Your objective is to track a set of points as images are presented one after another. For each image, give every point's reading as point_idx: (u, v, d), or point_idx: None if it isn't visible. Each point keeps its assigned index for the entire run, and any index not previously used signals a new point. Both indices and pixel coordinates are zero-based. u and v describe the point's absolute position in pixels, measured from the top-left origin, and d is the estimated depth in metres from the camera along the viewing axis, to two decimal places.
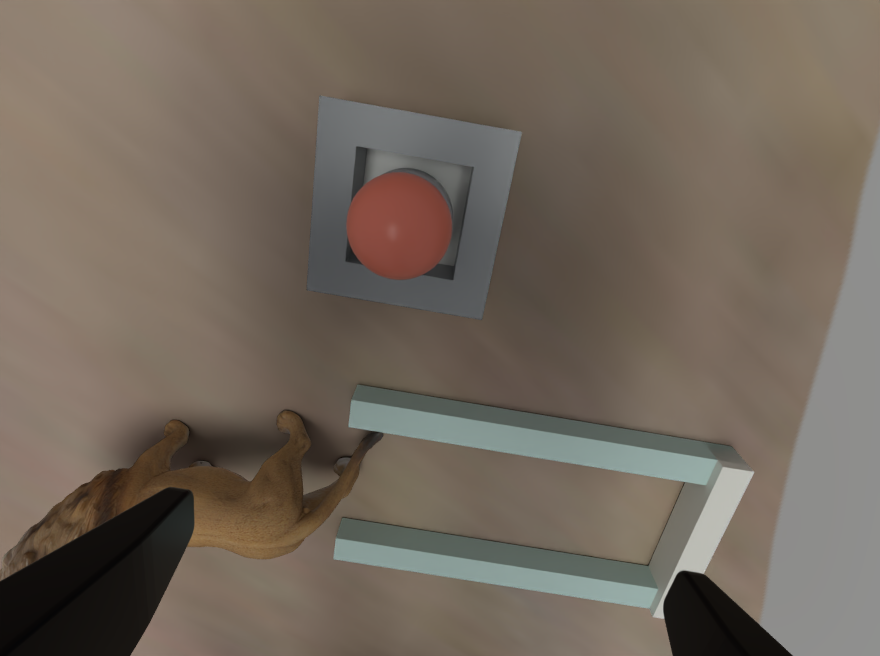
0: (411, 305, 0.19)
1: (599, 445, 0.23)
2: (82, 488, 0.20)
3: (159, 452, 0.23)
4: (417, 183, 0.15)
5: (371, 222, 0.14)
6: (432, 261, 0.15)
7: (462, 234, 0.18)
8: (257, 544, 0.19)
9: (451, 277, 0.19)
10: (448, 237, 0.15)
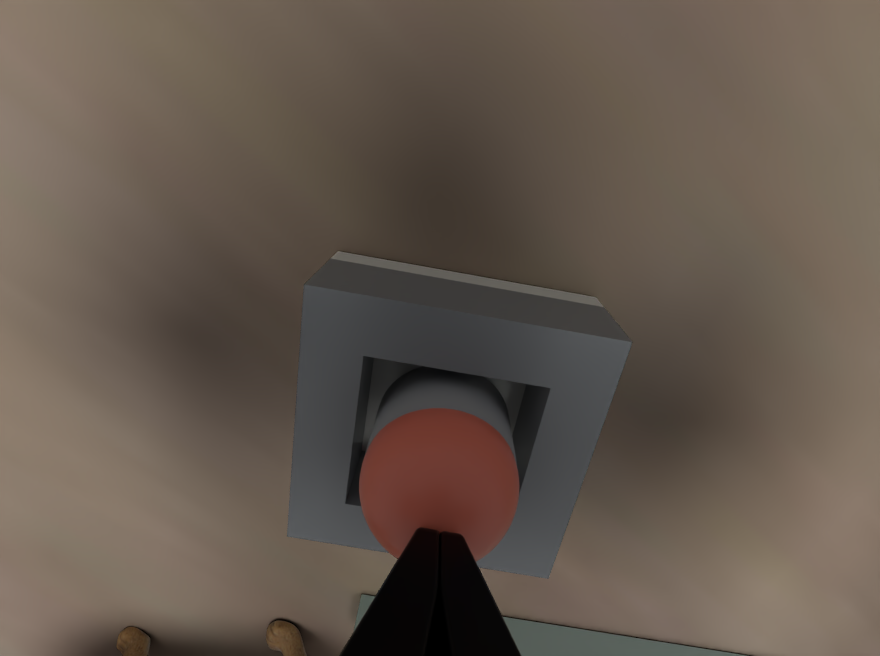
0: None
1: None
2: None
3: None
4: (472, 446, 0.09)
5: (400, 518, 0.09)
6: (491, 550, 0.10)
7: (525, 472, 0.12)
8: None
9: None
10: (515, 510, 0.10)
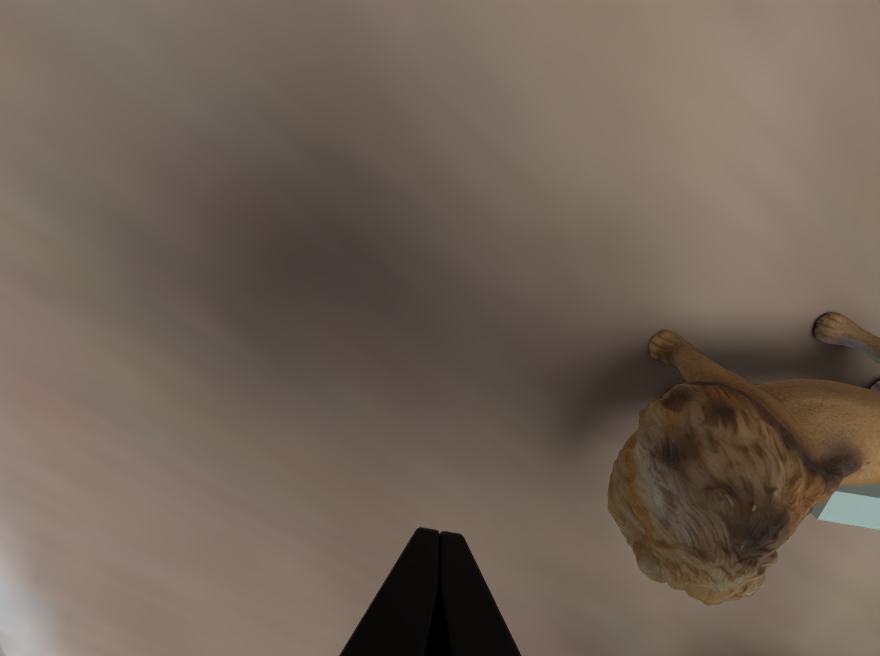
0: None
1: None
2: (696, 402, 0.14)
3: (715, 363, 0.16)
4: None
5: None
6: None
7: None
8: None
9: None
10: None
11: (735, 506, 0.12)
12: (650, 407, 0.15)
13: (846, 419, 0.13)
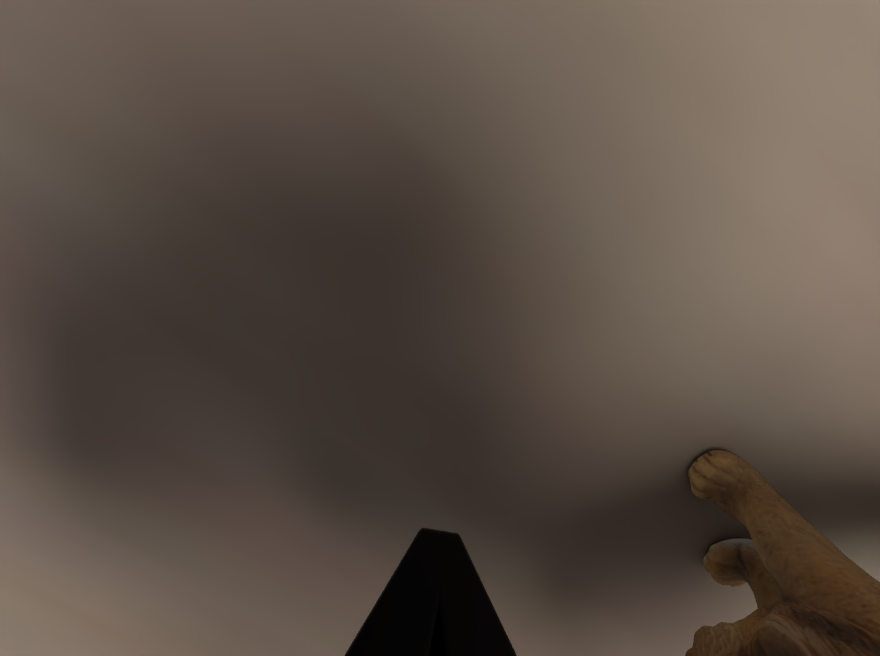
0: None
1: None
2: None
3: (833, 549, 0.08)
4: None
5: None
6: None
7: None
8: None
9: None
10: None
11: None
12: None
13: None
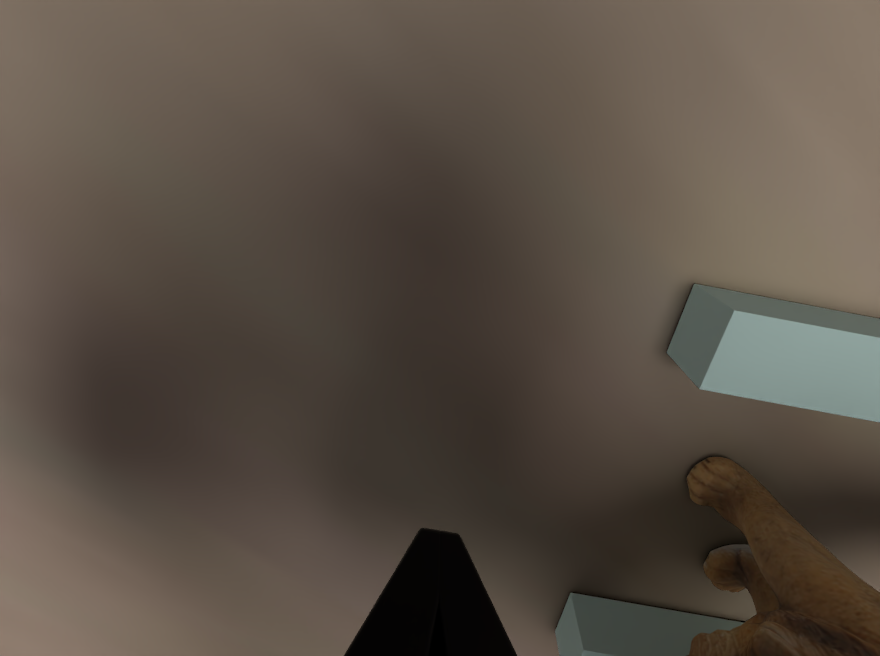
0: None
1: None
2: None
3: (828, 556, 0.08)
4: None
5: None
6: None
7: None
8: None
9: None
10: None
11: None
12: None
13: None
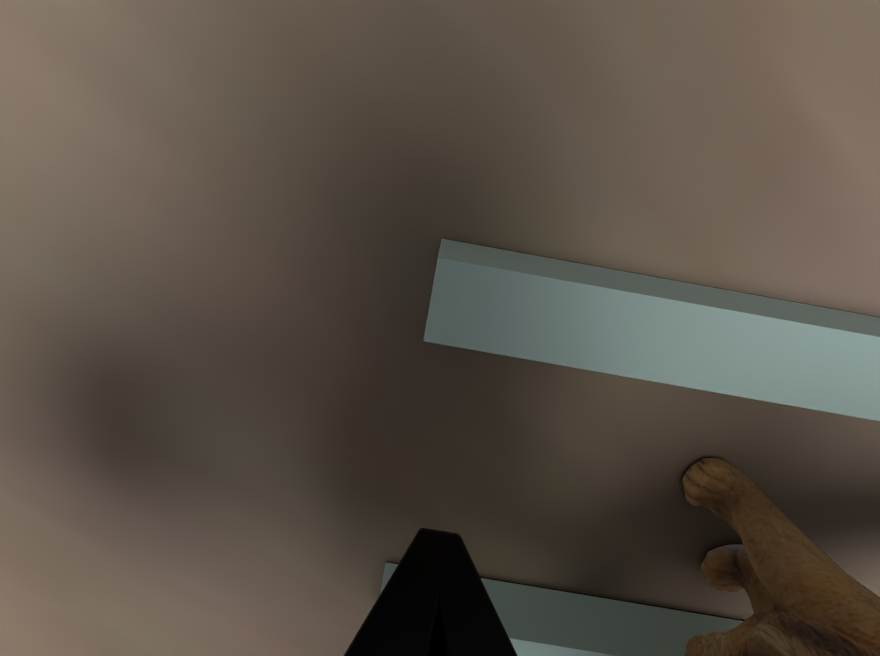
0: None
1: None
2: None
3: (822, 556, 0.08)
4: None
5: None
6: None
7: None
8: None
9: None
10: None
11: None
12: None
13: None
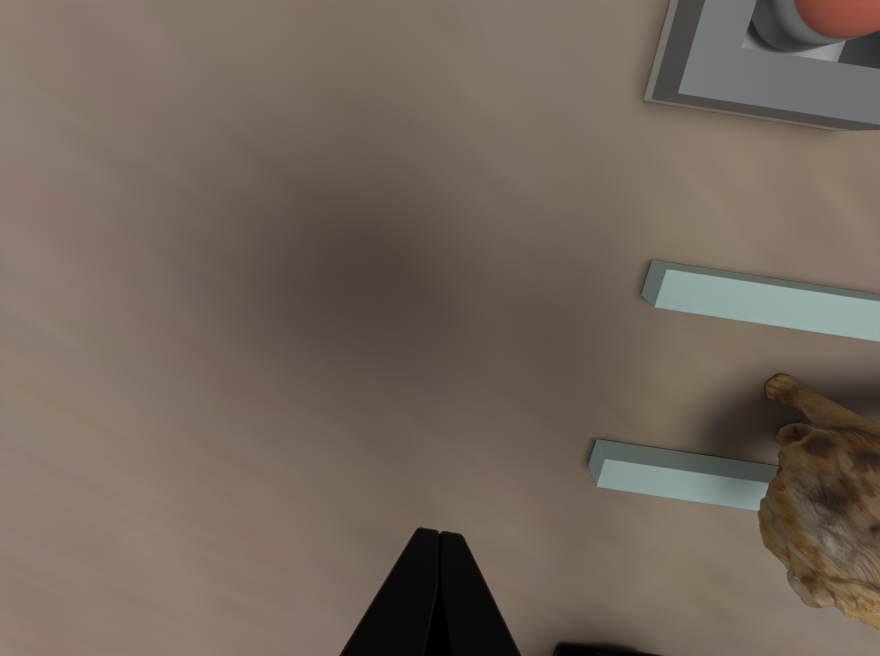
0: (815, 111, 0.14)
1: None
2: (840, 449, 0.16)
3: (840, 406, 0.18)
4: None
5: None
6: None
7: None
8: None
9: None
10: None
11: None
12: (792, 452, 0.17)
13: None
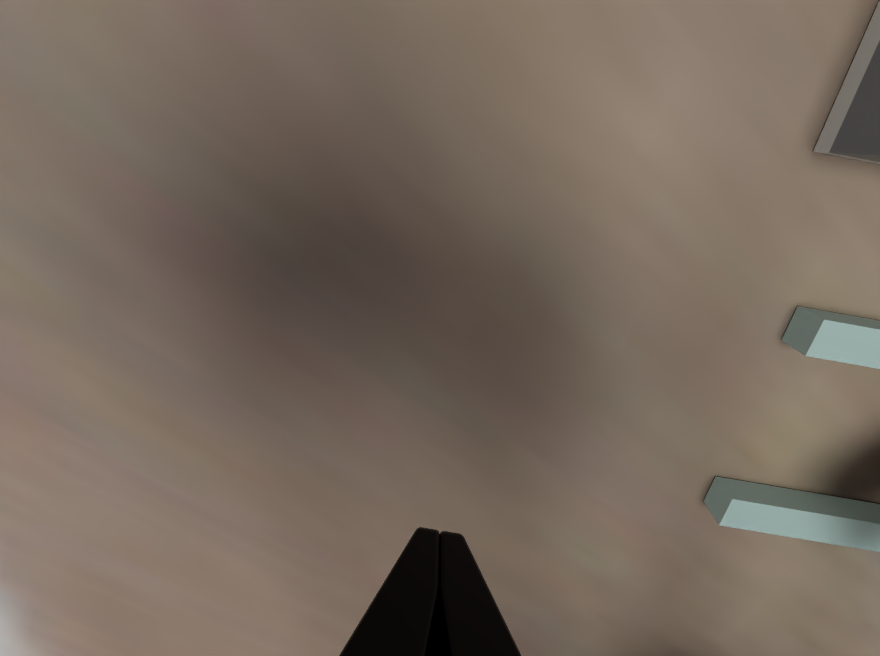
0: None
1: None
2: None
3: None
4: None
5: None
6: None
7: None
8: None
9: None
10: None
11: None
12: None
13: None
